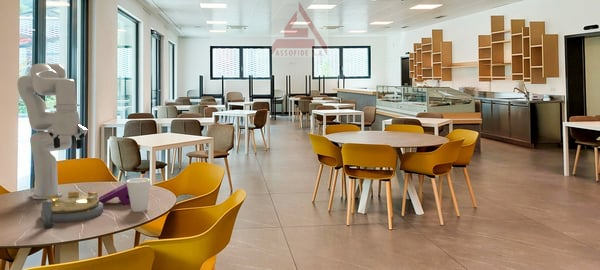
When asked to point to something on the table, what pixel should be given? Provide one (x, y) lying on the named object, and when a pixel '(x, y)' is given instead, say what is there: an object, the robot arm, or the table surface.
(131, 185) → the foam cup
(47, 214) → the pin
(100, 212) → the grey round plate
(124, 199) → the mounting bracket
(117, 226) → the table surface
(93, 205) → the brass lugged disc
